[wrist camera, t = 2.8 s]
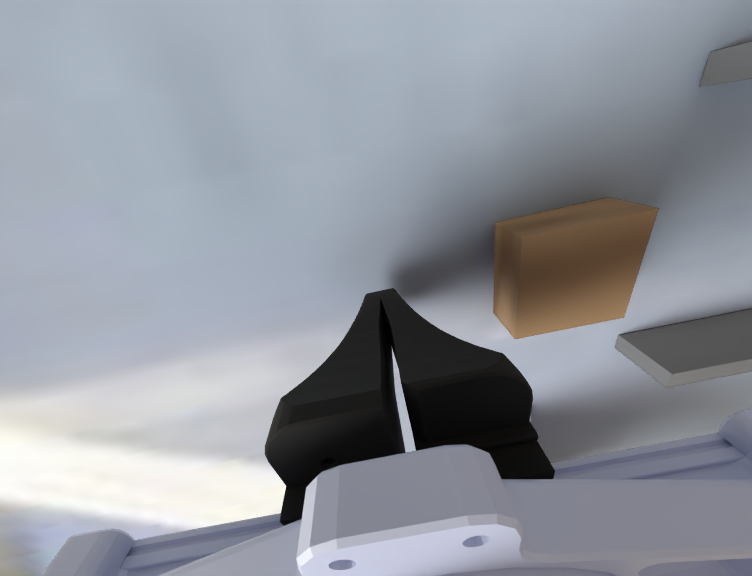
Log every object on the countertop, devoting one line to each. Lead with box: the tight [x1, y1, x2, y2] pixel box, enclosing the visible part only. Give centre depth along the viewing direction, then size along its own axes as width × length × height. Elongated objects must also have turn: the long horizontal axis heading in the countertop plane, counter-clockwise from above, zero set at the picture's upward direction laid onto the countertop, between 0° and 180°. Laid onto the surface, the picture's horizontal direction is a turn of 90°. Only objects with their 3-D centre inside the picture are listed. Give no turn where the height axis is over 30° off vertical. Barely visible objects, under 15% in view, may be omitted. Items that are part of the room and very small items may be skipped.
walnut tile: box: [493, 197, 659, 339], centre depth 12 cm, size 5×5×2 cm
